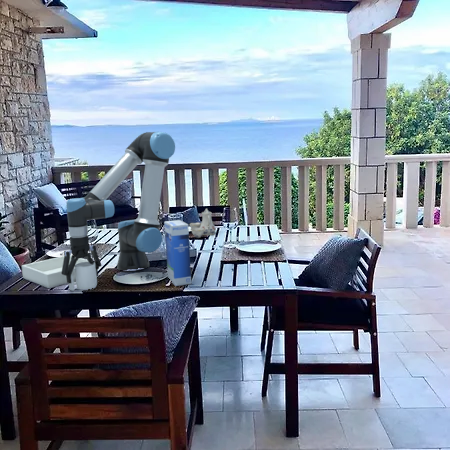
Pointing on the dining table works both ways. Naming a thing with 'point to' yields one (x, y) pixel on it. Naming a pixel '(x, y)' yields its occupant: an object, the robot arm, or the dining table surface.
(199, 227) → the chinaware
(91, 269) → the cup
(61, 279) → the box
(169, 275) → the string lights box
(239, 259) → the dining table surface
